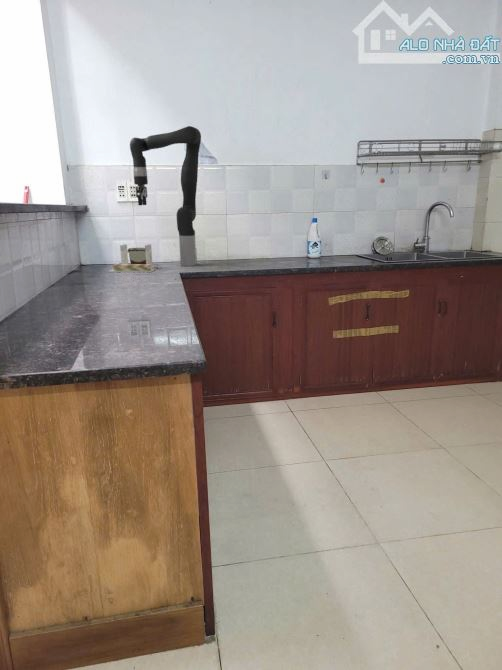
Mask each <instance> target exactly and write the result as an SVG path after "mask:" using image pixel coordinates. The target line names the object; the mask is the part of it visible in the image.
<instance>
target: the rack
mask: <svg viewBox="0 0 502 670" xmlns="http://www.w3.org/2000/svg"><path fill="white" fill-rule="evenodd" d="M119 248H120V261H121V264H129V252H128V244H122V245H121V244H120V246H119ZM144 248H145V254H146V264H150V265H151V269H156V268H157V264H153V256H152V254H153V253H152V250H153V249H152V244H149V243H148V244H145V245H144Z"/></svg>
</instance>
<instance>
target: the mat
mask: <svg viewBox="0 0 502 670" xmlns="http://www.w3.org/2000/svg"><path fill="white" fill-rule="evenodd" d="M154 270H155V271H156V268H154V269H151V270H150V271H113V268H112V269H109V270H108V271H107V273H152V272H154Z"/></svg>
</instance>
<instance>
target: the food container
mask: <svg viewBox="0 0 502 670" xmlns="http://www.w3.org/2000/svg"><path fill="white" fill-rule="evenodd" d="M127 253H128V258H129V262H130V263H129V264H146V254H145V247H130V248H127Z"/></svg>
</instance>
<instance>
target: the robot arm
mask: <svg viewBox="0 0 502 670" xmlns="http://www.w3.org/2000/svg"><path fill="white" fill-rule="evenodd" d="M201 142H202V135H201V132H200V130H199V129H198V128H197V127H194V126H188V125H187V126H185V127H183V128H180V129H178V130H177V129H176V130H174V131H171V132H164V133H159V134H153V135H148V136H147V137H144V138H140V137H132V138H131V140H130V142H129V150H130V152H131V153H130V154H131V156H132V163H133V182H134V183H133V184H134V185H136V186H135V197H136V198H137V205H138V206H147V198H148V188H147V186H146V185H148V184H149V183H148V182H149V181H148V171H147V161H146V159H147V158H146V157H145V156H144V154H143V152H147V151H151V150H157V149H162V148H165V147H169V146H172V145H175V144H176V145H178V144H185V146H186V147H185V156H184V159H183V162H182V164H181V171H180V185H181V192H182V198H183V199H182V206H180V207H179V208H178V209H177V212H176V227H177V232H178V238H179V239H178V240H179V257H180V259H179V262H180V266H184V267H192V266H197V265H198V261H197V260H198V258H197V255H198V254H197V246H196V231H195V229H194V226H193V224H194V223H193V222H194V221H195V219H196V217H197V210H196V209H197V205H196V197H197V186H198V175H199V172H198V171H199V153H200V148H201Z"/></svg>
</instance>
